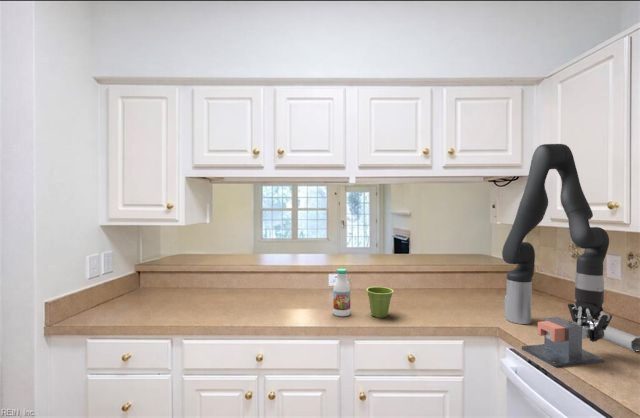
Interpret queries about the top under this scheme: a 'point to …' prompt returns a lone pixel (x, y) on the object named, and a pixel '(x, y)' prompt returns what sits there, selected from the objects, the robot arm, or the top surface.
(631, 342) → the tube
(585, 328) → the shaft
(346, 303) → the milk bottle
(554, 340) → the block
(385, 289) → the plant pot
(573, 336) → the bearing block
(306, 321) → the top surface
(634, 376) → the top surface
